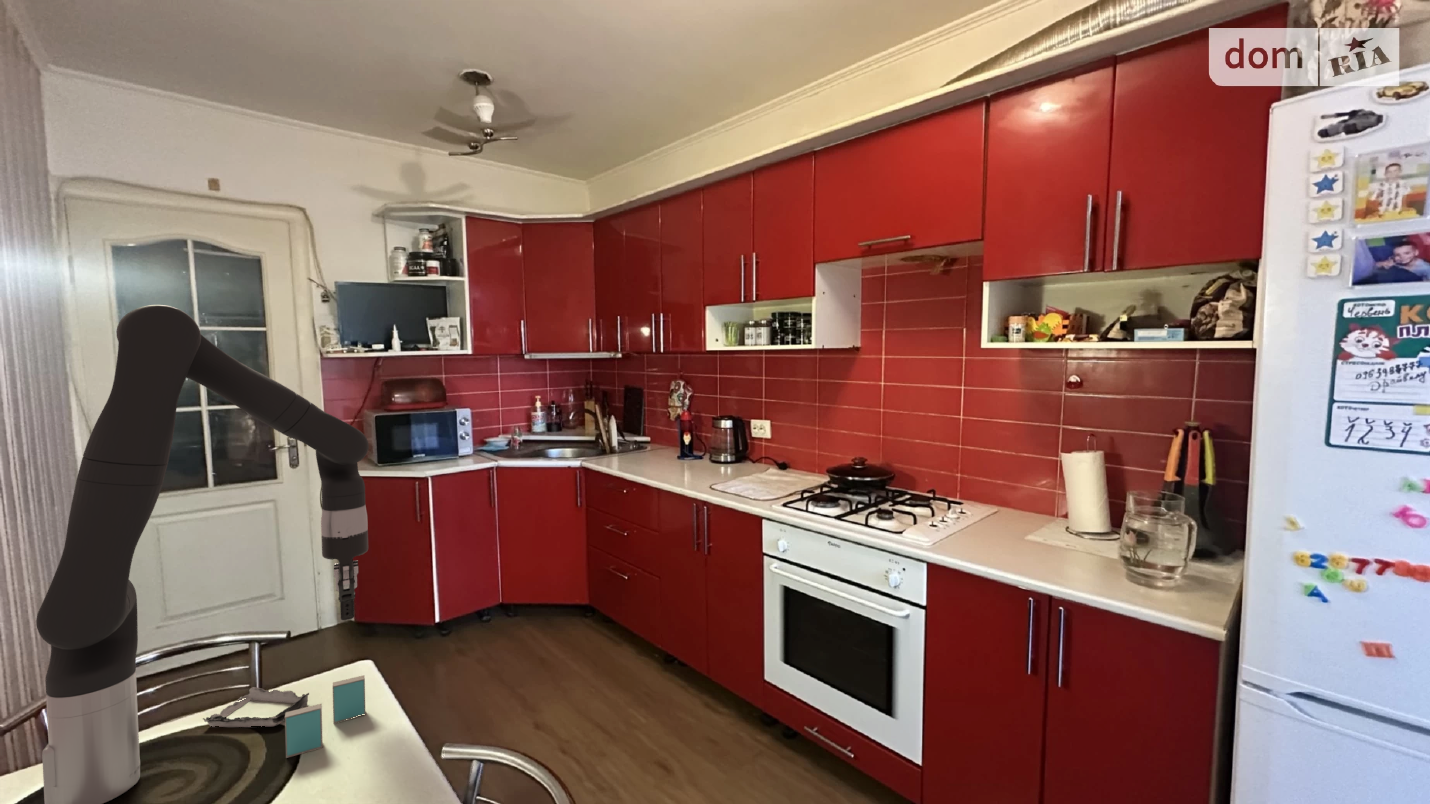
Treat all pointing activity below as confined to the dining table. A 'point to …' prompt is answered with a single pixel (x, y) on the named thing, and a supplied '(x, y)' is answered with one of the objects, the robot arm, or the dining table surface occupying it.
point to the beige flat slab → (303, 730)
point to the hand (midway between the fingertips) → (347, 618)
